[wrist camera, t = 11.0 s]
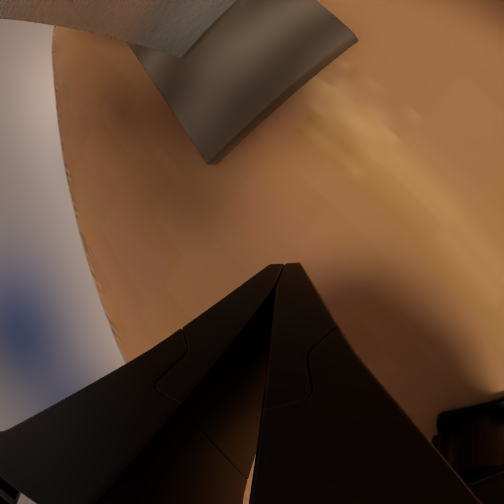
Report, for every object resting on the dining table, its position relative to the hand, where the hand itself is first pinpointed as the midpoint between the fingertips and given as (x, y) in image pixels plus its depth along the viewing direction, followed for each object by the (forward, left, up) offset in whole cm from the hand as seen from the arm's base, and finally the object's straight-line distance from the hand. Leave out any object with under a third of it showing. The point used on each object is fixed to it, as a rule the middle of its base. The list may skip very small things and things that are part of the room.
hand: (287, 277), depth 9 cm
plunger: (+6, -24, -11) cm, 27 cm away
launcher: (+6, -23, -13) cm, 27 cm away
